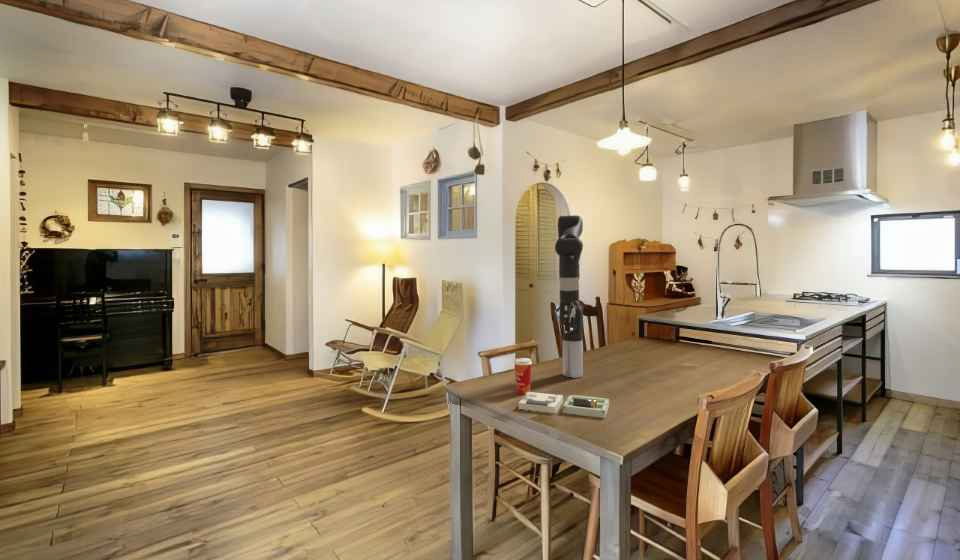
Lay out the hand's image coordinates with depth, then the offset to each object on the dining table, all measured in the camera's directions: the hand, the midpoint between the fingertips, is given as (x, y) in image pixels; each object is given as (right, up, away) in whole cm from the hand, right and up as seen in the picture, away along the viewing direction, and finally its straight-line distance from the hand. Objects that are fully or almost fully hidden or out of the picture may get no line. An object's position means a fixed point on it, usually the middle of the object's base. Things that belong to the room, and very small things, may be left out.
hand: (569, 329), depth 180 cm
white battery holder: (-12, -29, -5) cm, 31 cm away
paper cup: (-17, -28, +11) cm, 35 cm away
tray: (+4, -29, -10) cm, 31 cm away
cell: (+3, -27, -14) cm, 31 cm away
